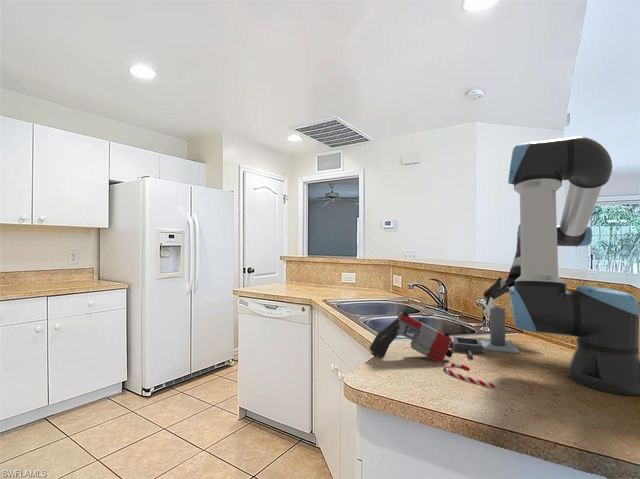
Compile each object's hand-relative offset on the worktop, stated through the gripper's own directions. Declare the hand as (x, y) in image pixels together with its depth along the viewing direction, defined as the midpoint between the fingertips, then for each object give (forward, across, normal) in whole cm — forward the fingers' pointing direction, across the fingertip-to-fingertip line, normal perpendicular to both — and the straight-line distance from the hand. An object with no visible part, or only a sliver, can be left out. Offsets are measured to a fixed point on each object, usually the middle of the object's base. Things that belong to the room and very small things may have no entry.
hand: (507, 316), depth 116 cm
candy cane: (+36, -5, +23) cm, 43 cm away
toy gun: (+35, +13, +23) cm, 43 cm away
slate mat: (+12, 0, +1) cm, 13 cm away
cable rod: (+12, 0, +1) cm, 12 cm away
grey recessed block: (+22, +4, +10) cm, 24 cm away
